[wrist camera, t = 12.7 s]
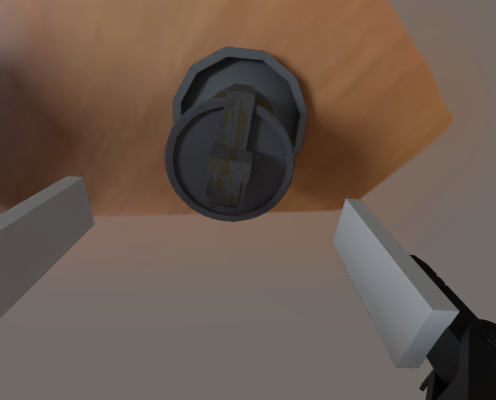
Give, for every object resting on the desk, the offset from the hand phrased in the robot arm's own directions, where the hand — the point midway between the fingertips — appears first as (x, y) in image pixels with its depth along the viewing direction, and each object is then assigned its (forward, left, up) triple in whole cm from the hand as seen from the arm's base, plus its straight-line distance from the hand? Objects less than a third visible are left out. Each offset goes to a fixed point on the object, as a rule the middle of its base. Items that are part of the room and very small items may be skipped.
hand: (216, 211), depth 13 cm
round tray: (0, 0, -26) cm, 26 cm away
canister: (0, 0, -25) cm, 25 cm away
